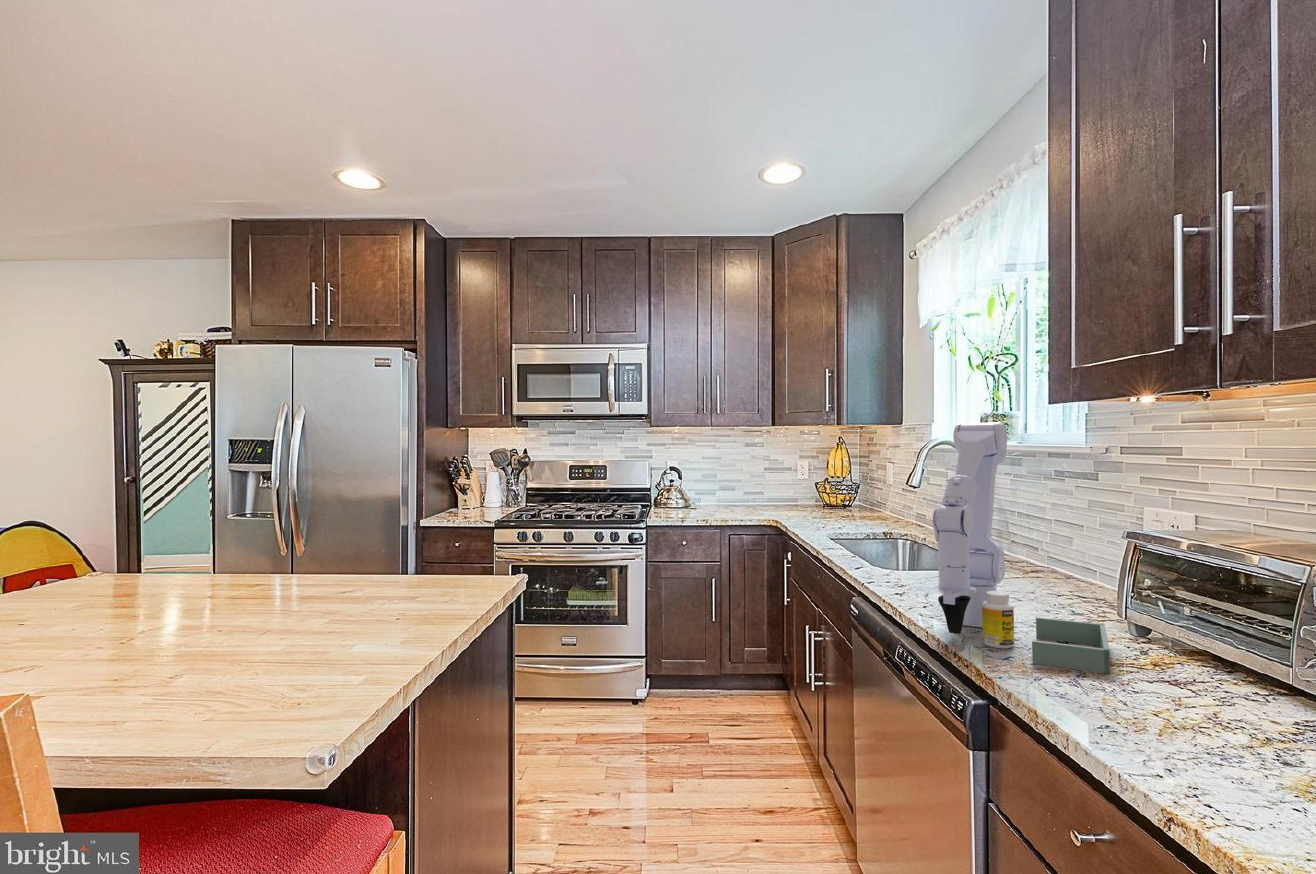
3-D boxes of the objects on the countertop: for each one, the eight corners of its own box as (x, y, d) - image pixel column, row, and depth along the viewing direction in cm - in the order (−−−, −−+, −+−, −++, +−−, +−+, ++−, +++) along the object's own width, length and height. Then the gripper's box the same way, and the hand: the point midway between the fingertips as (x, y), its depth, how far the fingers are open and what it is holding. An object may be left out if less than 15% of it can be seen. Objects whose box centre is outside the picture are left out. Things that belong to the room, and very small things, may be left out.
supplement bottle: (1004, 651, 129) (1003, 597, 129) (976, 644, 134) (975, 592, 134) (1020, 646, 132) (1019, 593, 132) (992, 639, 137) (991, 588, 137)
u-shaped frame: (1036, 637, 138) (1036, 617, 138) (1105, 644, 132) (1104, 624, 132) (1032, 663, 122) (1032, 641, 122) (1110, 674, 116) (1109, 650, 116)
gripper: (970, 573, 129) (972, 645, 129) (979, 560, 141) (981, 626, 141) (931, 570, 133) (932, 640, 133) (943, 558, 145) (944, 622, 145)
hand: (955, 632), depth 137 cm, fingers closed
